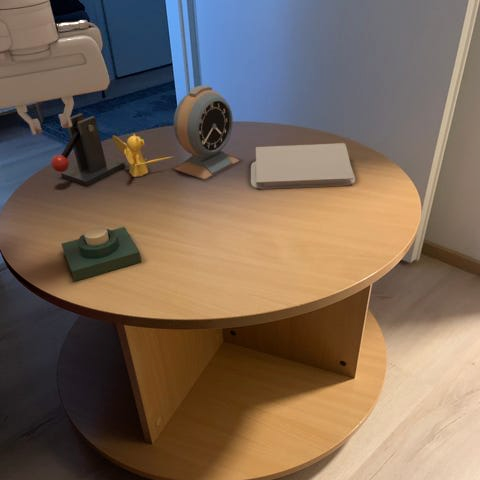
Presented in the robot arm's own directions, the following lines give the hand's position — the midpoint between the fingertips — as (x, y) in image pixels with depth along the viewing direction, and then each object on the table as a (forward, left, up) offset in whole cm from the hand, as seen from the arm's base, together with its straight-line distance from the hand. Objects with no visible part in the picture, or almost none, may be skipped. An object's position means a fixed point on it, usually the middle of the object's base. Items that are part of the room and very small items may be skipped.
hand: (52, 129), depth 78 cm
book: (+51, +10, -23) cm, 57 cm away
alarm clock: (+34, +25, -23) cm, 48 cm away
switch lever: (+6, +34, -17) cm, 39 cm away
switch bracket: (+9, +36, -23) cm, 44 cm away
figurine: (+21, +30, -23) cm, 43 cm away
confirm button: (+2, -2, -19) cm, 20 cm away
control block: (+2, -2, -23) cm, 23 cm away
